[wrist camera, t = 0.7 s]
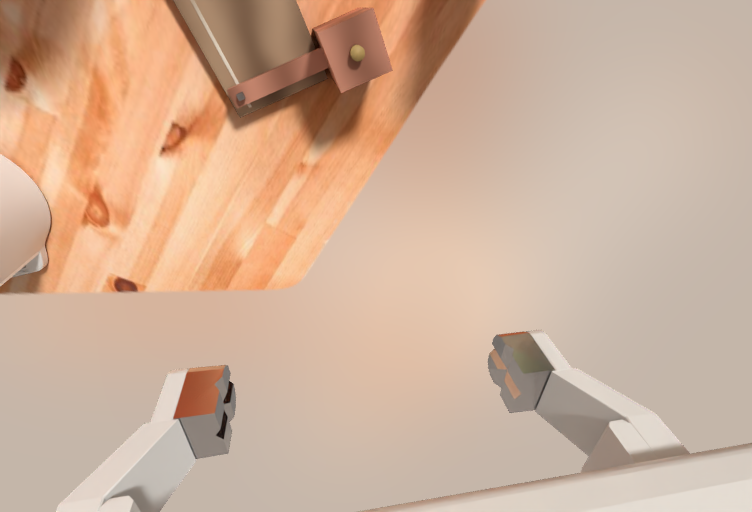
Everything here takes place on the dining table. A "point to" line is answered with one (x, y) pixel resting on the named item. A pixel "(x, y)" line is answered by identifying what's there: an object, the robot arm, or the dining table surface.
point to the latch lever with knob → (327, 58)
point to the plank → (249, 41)
